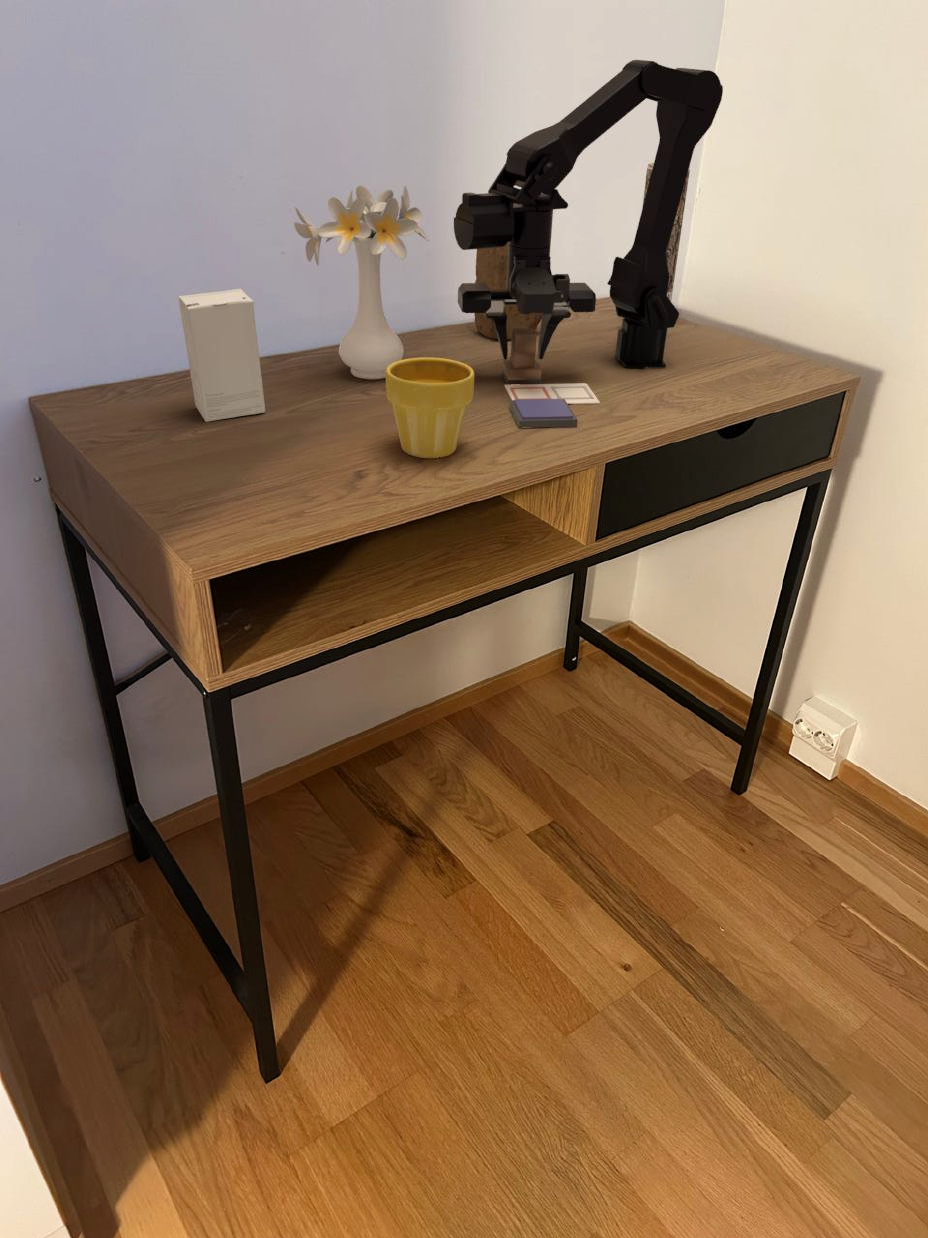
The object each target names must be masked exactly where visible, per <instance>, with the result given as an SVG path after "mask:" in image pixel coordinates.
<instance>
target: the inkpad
mask: <svg viewBox="0 0 928 1238" xmlns="http://www.w3.org/2000/svg"><path fill="white" fill-rule="evenodd" d="M508 407H510V408H509V410H510V412H511V411H512V412H511V414H512V413H513V414H512V416H513V415H514V416H513V418H514V417H515V418H514V420H515V419H516V420H515V422H516V421H517V423H518V425H517V427H518V426H519V427H518V429H523V428H522V427H531V428H530V429H534V428H533V427H536V428H535V429H538V428H537V427H557V428H577V427H578V418H577V416H576V415H575V414H574V412H573V410H572V409H571V407H570V405H568V404H567V402H566V401H565V399H516V400H511V399H510V400H509V406H508ZM517 423H516V424H517Z"/></svg>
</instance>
